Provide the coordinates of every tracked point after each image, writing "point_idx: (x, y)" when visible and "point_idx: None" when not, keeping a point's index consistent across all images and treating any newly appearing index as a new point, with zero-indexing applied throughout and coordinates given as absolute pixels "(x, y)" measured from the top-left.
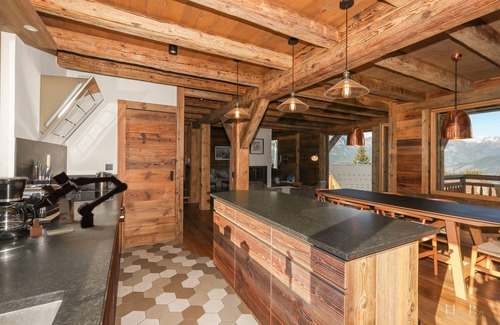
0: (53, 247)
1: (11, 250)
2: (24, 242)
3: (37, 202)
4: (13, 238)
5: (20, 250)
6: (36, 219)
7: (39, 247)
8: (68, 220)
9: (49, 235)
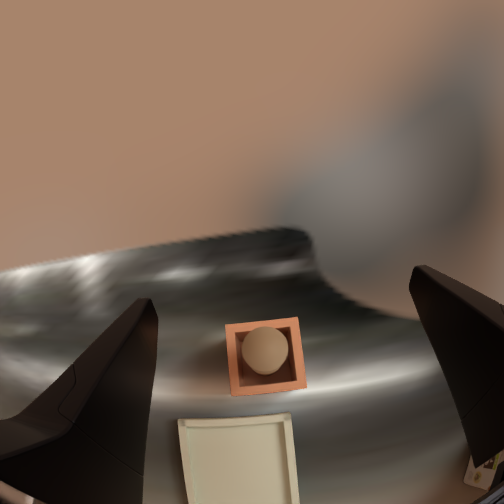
0: (10, 399)
1: (68, 277)
2: None
3: (462, 301)
4: (284, 258)
5: (46, 304)
6: (243, 352)
7: (35, 362)
8: (477, 475)
9: (179, 426)
